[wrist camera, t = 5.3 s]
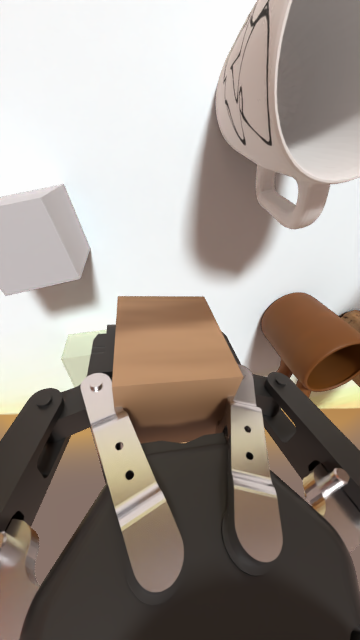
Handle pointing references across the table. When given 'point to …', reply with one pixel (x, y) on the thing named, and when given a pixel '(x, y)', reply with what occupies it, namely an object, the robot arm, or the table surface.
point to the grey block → (40, 240)
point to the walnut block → (171, 367)
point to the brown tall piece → (356, 320)
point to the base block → (78, 355)
